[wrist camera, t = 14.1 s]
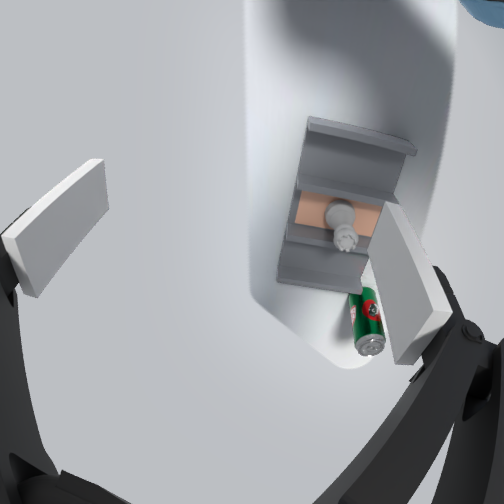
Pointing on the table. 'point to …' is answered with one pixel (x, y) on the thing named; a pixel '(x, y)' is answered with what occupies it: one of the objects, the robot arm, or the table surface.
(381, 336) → the soda can
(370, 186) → the stepped slat stand
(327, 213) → the rook chess piece
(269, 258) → the table surface
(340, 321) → the table surface
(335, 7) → the table surface
